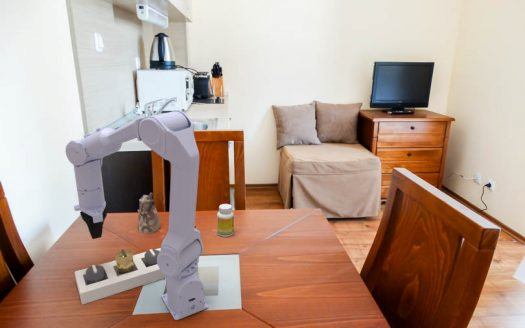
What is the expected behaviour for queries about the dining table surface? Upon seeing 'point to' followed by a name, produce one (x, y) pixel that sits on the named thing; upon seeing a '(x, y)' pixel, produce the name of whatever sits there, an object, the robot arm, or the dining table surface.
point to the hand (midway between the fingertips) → (96, 237)
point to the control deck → (117, 279)
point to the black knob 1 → (95, 274)
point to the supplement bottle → (225, 220)
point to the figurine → (148, 215)
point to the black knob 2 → (151, 257)
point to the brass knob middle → (124, 261)
